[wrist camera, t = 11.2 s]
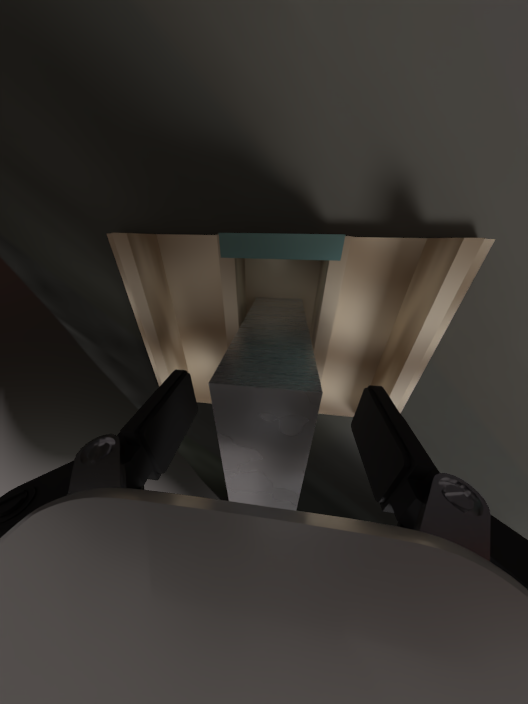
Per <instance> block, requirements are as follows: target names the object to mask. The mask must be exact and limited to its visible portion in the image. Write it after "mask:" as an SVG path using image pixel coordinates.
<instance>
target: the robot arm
mask: <svg viewBox="0 0 528 704" xmlns="http://www.w3.org/2000/svg"><path fill="white" fill-rule="evenodd" d="M197 411H198V407H197V402H196V398H195V393H194V389H193V384H192V380H191V375H190V373H188V372H187V371H186V370H177V369H176V370H174V371H173V372H172V373H171V374H170V375H169V377H168V378H167V379H166V380H165V381H164V382H163V383H162V384H161V386H160V387H159V388H158V389H157V390H156V391H155V392H154V393H153V395H152V396H151V397H150V398H149V399H148V400H147V401H146V402H145V404H144V405H143V406H142V407H141V408H140V409H139V410H138V411H137V413H136V414H135V415H134V416H133V417H132V418H131V419H130V420H129V422H128V423H127V424H126V425H125V426H124V427H123V428H122V429H121V432H120V433H119V434H118V435H117V436H116V435H113V434H106V435H102V436H99V437H97V438H95V439H93V440H92V441H90V442H88V443H87V444H85V446H84V447H82V448H81V449H80V451H79V452H78V453H77V454H76V457H75V459H74V461H72V462H70V463H68V464H65V465H63V466H61V467H59V468H57V469H55V470H52V471H50V472H48V473H46V474H44V475H42V476H40V477H38V478H35V479H33V480H31V481H29V482H27V483H24V484H22V485H20V486H18V487H16V488H14V489H13V490H11V491H9V492H8V493H6V494H5V495H3V496H2V497H0V704H528V540H527V539H525V538H524V537H522V536H521V535H520V534H518V533H517V532H515V531H514V530H512V529H511V528H509V527H508V526H506V525H505V524H503V523H502V522H501V521H499V520H498V519H496V518H495V517H493V516H492V515H491V514H490V510H489V507H488V505H487V503H486V501H485V500H484V499H483V497H482V496H481V495H480V494H479V493H478V492H477V491H476V490H475V489H474V488H473V487H472V486H471V485H469V484H468V483H466V482H465V481H464V480H462V479H460V478H458V477H456V476H454V475H451V474H447V473H439V471H438V470H437V468H436V467H435V465H434V463H433V462H432V460H431V459H430V457H429V456H428V454H427V453H426V451H425V450H424V448H423V447H422V445H421V444H420V442H419V440H418V439H417V437H416V436H415V434H414V433H413V431H412V430H411V428H410V427H409V425H408V424H407V422H406V421H405V419H404V418H403V417H402V416H401V414H400V412H399V411H398V409H397V408H396V406H395V405H394V403H393V402H392V400H391V399H390V397H389V395H388V394H387V392H386V391H385V389H384V388H383V387H382V386H374V385H369V386H368V387H367V388H364V390H363V393H362V396H361V398H360V401H359V404H358V407H357V409H356V412H355V415H354V417H353V420H352V423H351V428H352V432H353V435H354V438H355V441H356V444H357V447H358V450H359V453H360V456H361V459H362V462H363V465H364V468H365V471H366V474H367V477H368V480H369V483H370V486H371V489H372V492H373V495H374V497H375V500H376V501H377V502H380V505H381V508H382V511H385V512H392V513H394V514H395V516H396V519H397V521H398V524H397V526H391V525H386V524H380V523H374V522H368V521H362V520H355V519H349V518H342V517H335V516H328V515H322V514H315V513H308V512H301V511H295V510H288V509H281V508H274V507H267V506H260V505H253V504H246V503H239V502H231V501H224V500H217V499H210V498H203V497H195V496H187V495H181V494H173V493H166V492H157V491H149V490H144V484H145V482H146V481H147V479H152V480H158V479H159V477H160V476H161V474H162V473H165V471H166V470H167V468H168V466H169V464H170V463H171V461H172V459H173V457H174V455H175V453H176V451H177V450H178V448H179V446H180V444H181V442H182V440H183V438H184V436H185V435H186V433H187V431H188V429H189V427H190V425H191V423H192V422H193V420H194V418H195V416H196V414H197Z"/></svg>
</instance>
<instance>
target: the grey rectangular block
mask: <svg viewBox="0 0 528 704" xmlns="http://www.w3.org/2000/svg"><path fill="white" fill-rule="evenodd" d="M209 389H210V395H211V401H212V406H213V412H214V418H215V424H216V429H217V435H218V441H219V447H220V452H221V458H222V464H223V469H224V475H225V481H226V487H227V492H228V498H229V501H231V502H239V503H246V504H253V505H260V506H267V507H274V508H281V509H288V510H295V511H296V509H297V504H298V500H299V495H300V491H301V486H302V482H303V478H304V473H305V469H306V464H307V460H308V456H309V451H310V447H311V442H312V438H313V434H314V429H315V425H316V420H317V416H318V412H319V407H320V403H321V398H322V394H323V392H322V388H321V383H320V379H319V374H318V370H317V365H316V361H315V356H314V352H313V347H312V343H311V338H310V334H309V329H308V325H307V320H306V316H305V311H304V307H303V302H302V299H291V298H267V297H256V299H255V301H254V303H253V305H252V306H251V308H250V310H249V312H248V314H247V315H246V317H245V319H244V321H243V322H242V324H241V326H240V328H239V330H238V331H237V333H236V335H235V337H234V339H233V340H232V342H231V344H230V346H229V348H228V349H227V351H226V353H225V355H224V356H223V358H222V360H221V362H220V364H219V365H218V367H217V369H216V371H215V373H214V374H213V376H212V378H211V380H210V381H209Z"/></svg>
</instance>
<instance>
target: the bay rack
mask: <svg viewBox="0 0 528 704" xmlns="http://www.w3.org/2000/svg"><path fill="white" fill-rule="evenodd" d="M345 235H346V234H272V233H219V234H217V235H172V234H139V233H112V234H107V237H108V240H109V242H110V245H111V248H112V251H113V254H114V257H115V260H116V263H117V266H118V268H119V271H120V274H121V277H122V280H123V283H124V286H125V289H126V292H127V294H128V297H129V300H130V303H131V306H132V309H133V312H134V315H135V318H136V320H137V323H138V326H139V329H140V332H141V335H142V338H143V341H144V344H145V346H146V349H147V352H148V355H149V358H150V361H151V364H152V367H153V370H154V372H155V375H156V378H157V381H158V384H159V387H160V386H161V384H162V383H163V382H164V381H165V380H166V379H167V378H168V377H169V375H170V374H171V373H172V372H173V371H174V370H176V369H177V370H186V371H187V372H188V373H190V375H191V380H192V384H193V389H194V393H195V398H196V402H202V403H212V401H211V395H210V389H209V381H210V380H211V378H212V376H213V374H214V373H215V371H216V369H217V367H218V365H219V364H220V362H221V360H222V358H223V356H224V355H225V353H226V351H227V349H228V348H229V346H230V344H231V342H232V340H233V339H234V337H235V335H236V333H237V331H238V330H239V328H240V326H241V324H242V322H243V321H244V319H245V317H246V315H247V314H248V312H249V310H250V308H251V306H252V305H253V303H254V301H255V299H256V297H267V298H291V299H302V302H303V307H304V311H305V316H306V320H307V325H308V329H309V334H310V338H311V343H312V347H313V352H314V356H315V361H316V365H317V370H318V374H319V379H320V383H321V388H322V392H323V394H322V398H321V403H320V407H319V412H318V414H329V415H339V416H350V417H354V415H355V412H356V409H357V407H358V404H359V401H360V398H361V396H362V393H363V390H364V388H367V387H368V386H369V385H374V386H382V387H383V388H384V389H385V391H386V392H387V394H388V395H389V397H390V399H391V400H392V402H393V403H394V405H395V406H396V408H397V409H398V411H399V412H400V413H401V411H402V410H403V408H404V406H405V404H406V402H407V400H408V399H409V397H410V395H411V393H412V391H413V389H414V388H415V386H416V384H417V382H418V380H419V378H420V377H421V375H422V373H423V371H424V369H425V367H426V366H427V364H428V362H429V360H430V358H431V356H432V354H433V353H434V351H435V349H436V347H437V345H438V343H439V342H440V340H441V338H442V336H443V334H444V332H445V331H446V329H447V327H448V325H449V323H450V321H451V320H452V318H453V316H454V314H455V312H456V310H457V309H458V307H459V305H460V303H461V301H462V299H463V298H464V296H465V294H466V292H467V290H468V288H469V287H470V285H471V283H472V281H473V279H474V277H475V276H476V274H477V272H478V270H479V268H480V266H481V265H482V263H483V261H484V259H485V257H486V255H487V253H488V252H489V250H490V248H491V246H492V244H493V242H494V241H495V239H485V238H378V237H352V236H345Z"/></svg>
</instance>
